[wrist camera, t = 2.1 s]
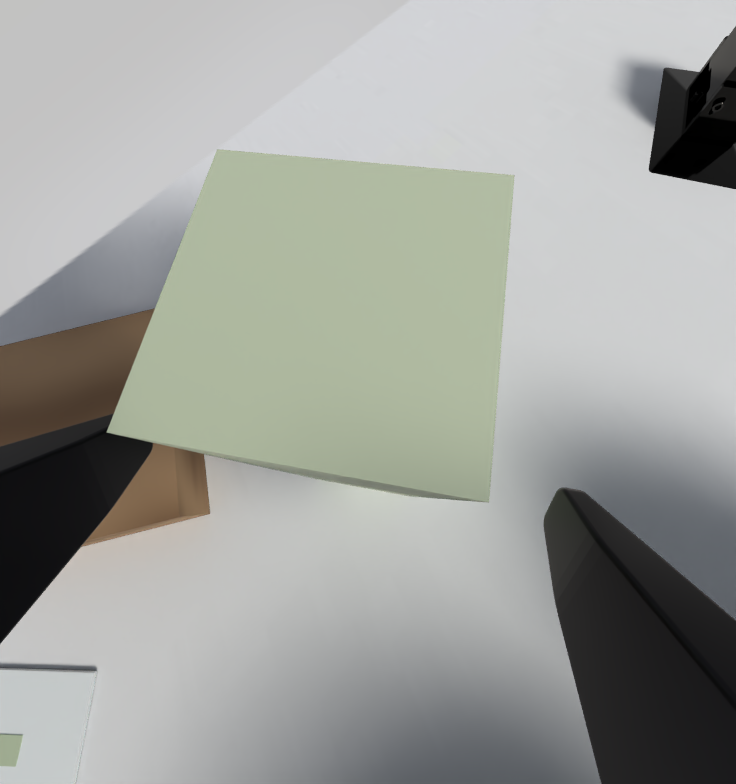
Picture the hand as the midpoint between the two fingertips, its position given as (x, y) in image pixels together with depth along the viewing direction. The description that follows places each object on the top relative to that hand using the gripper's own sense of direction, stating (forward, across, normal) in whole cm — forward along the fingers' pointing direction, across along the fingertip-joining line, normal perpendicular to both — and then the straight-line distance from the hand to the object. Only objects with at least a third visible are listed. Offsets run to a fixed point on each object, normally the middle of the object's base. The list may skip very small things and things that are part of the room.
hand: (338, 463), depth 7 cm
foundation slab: (+6, +14, +7) cm, 17 cm away
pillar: (+8, 0, +5) cm, 10 cm away
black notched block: (+25, -17, -10) cm, 32 cm away
